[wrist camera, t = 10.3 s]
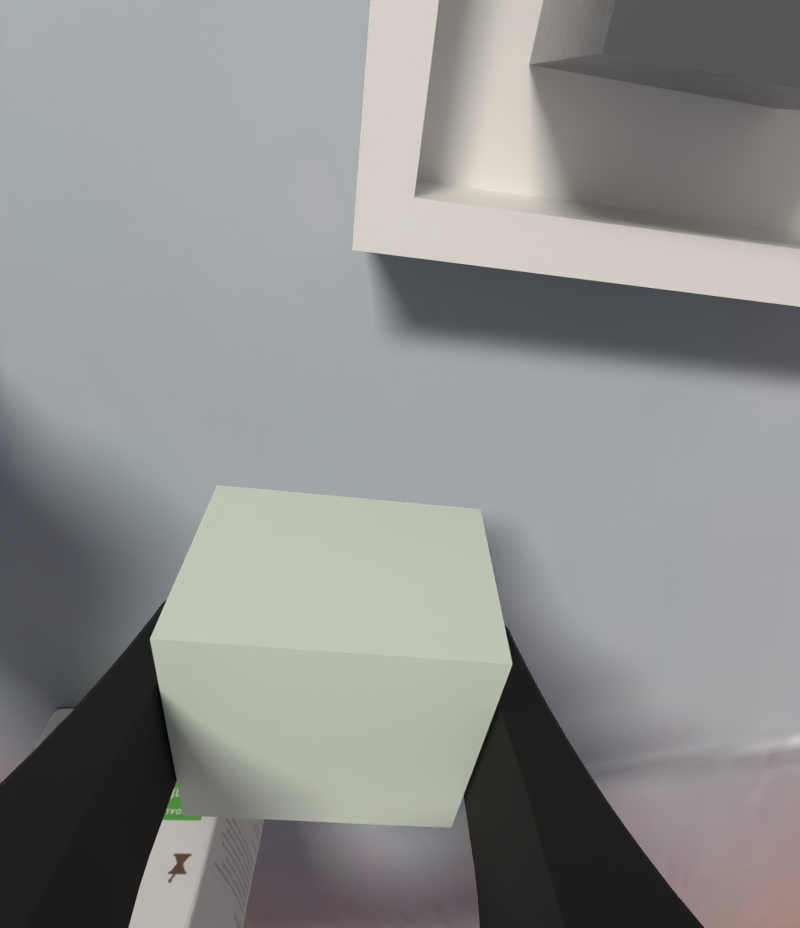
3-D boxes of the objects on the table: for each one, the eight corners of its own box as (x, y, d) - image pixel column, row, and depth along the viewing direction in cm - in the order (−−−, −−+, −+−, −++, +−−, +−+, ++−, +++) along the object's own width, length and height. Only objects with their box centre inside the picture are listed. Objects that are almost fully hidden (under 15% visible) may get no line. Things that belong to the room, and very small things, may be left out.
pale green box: (438, 669, 14) (451, 827, 11) (229, 655, 13) (183, 815, 10) (480, 509, 11) (512, 664, 8) (216, 485, 10) (149, 639, 8)
